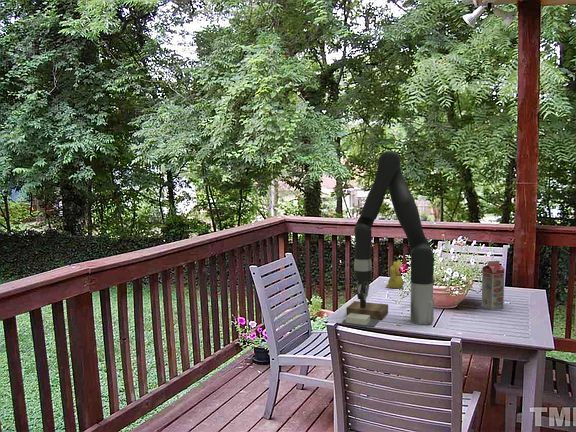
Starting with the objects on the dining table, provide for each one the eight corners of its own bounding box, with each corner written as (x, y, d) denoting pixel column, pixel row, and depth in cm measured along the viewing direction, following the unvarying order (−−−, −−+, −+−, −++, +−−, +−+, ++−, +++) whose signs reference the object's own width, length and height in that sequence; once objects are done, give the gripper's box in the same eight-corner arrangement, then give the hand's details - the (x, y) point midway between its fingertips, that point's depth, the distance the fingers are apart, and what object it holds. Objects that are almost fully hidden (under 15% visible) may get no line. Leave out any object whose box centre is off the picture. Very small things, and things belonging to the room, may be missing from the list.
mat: (379, 320, 214) (379, 319, 214) (373, 327, 206) (373, 326, 206) (348, 317, 220) (348, 315, 220) (341, 323, 211) (341, 322, 211)
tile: (366, 319, 207) (366, 325, 207) (370, 315, 212) (370, 321, 212) (345, 316, 211) (345, 322, 211) (350, 312, 216) (350, 318, 216)
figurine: (392, 284, 279) (392, 258, 277) (407, 286, 273) (407, 259, 272) (383, 288, 269) (384, 261, 268) (399, 290, 264) (399, 263, 263)
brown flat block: (388, 313, 225) (388, 304, 225) (381, 320, 214) (381, 311, 214) (354, 309, 232) (354, 301, 231) (346, 316, 221) (346, 307, 220)
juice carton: (481, 306, 233) (482, 260, 231) (493, 304, 235) (494, 259, 233) (491, 310, 227) (492, 263, 224) (503, 308, 229) (504, 261, 227)
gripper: (367, 272, 206) (367, 312, 208) (375, 266, 218) (375, 304, 220) (349, 271, 209) (350, 311, 211) (358, 265, 221) (358, 303, 223)
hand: (362, 307), depth 216 cm, fingers closed
